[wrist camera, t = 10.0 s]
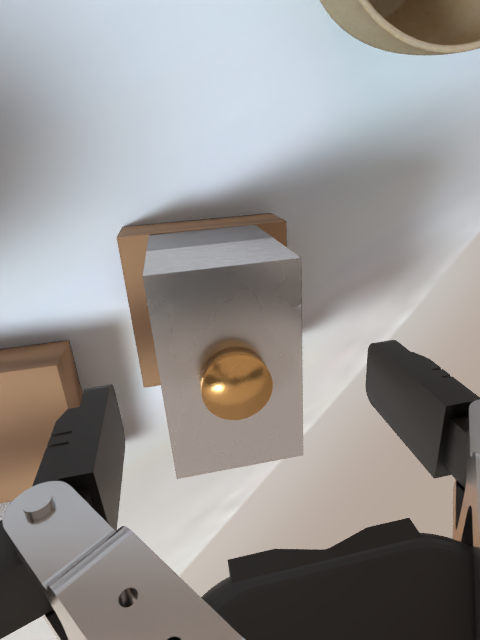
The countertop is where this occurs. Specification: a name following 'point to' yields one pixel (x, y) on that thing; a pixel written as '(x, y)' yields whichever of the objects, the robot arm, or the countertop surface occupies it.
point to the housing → (227, 346)
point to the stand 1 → (32, 408)
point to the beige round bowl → (410, 24)
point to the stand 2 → (133, 261)
